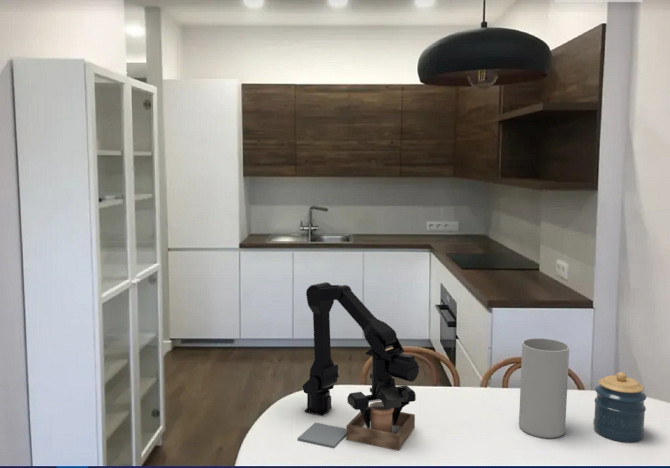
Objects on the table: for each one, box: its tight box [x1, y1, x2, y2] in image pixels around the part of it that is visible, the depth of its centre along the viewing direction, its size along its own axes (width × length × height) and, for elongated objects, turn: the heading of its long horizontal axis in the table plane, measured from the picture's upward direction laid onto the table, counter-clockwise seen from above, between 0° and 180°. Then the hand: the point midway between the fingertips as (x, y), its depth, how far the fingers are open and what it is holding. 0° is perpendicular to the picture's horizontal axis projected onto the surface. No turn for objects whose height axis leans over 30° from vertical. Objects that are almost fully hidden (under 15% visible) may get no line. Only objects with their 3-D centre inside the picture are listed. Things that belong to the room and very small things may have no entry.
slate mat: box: [297, 422, 347, 449], centre depth 160 cm, size 11×11×1 cm
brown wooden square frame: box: [345, 405, 416, 451], centre depth 161 cm, size 15×15×4 cm
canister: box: [593, 371, 647, 443], centre depth 162 cm, size 13×13×18 cm
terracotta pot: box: [369, 401, 394, 433], centre depth 161 cm, size 7×7×8 cm
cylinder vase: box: [518, 337, 570, 439], centre depth 164 cm, size 12×12×25 cm
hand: (381, 426), depth 161 cm, fingers open, 8 cm apart
